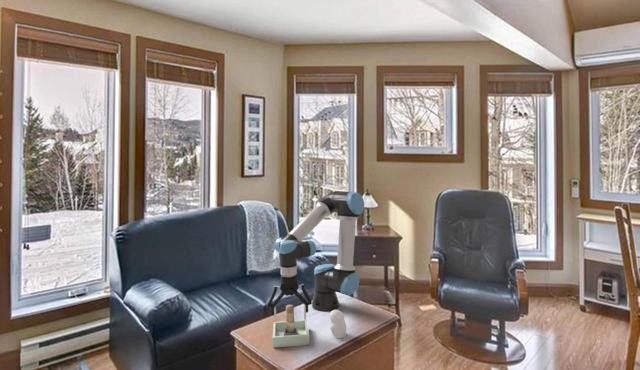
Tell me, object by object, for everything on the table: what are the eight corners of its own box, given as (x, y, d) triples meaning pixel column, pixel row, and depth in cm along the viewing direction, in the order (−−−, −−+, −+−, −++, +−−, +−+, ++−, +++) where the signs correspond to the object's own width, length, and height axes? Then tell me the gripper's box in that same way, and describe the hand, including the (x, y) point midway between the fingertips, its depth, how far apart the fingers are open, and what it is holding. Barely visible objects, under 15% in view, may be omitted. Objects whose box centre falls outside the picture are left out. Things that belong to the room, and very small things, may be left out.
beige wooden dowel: (286, 334, 170) (285, 305, 169) (294, 333, 170) (293, 304, 169) (286, 338, 166) (285, 307, 166) (294, 337, 167) (293, 307, 166)
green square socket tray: (273, 331, 175) (273, 321, 175) (307, 328, 177) (306, 319, 177) (272, 347, 160) (272, 337, 159) (309, 344, 161) (309, 335, 161)
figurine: (330, 331, 173) (329, 307, 172) (346, 331, 173) (345, 306, 172) (330, 339, 166) (329, 313, 165) (346, 338, 166) (346, 313, 165)
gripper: (260, 278, 162) (262, 325, 163) (316, 275, 164) (318, 321, 165) (261, 273, 169) (263, 318, 170) (315, 270, 171) (316, 315, 173)
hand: (290, 320), depth 168 cm, fingers open, 13 cm apart
